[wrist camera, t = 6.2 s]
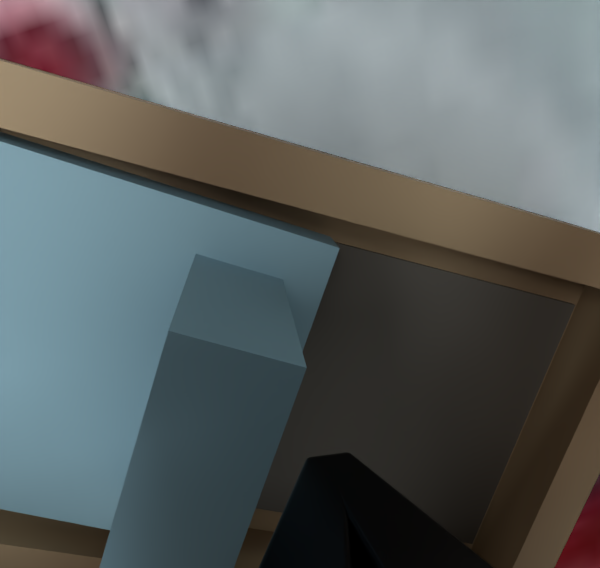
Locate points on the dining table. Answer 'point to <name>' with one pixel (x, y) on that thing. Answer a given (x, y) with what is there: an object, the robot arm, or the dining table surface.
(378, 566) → the robot arm
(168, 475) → the lid
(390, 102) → the dining table surface
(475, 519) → the slide box
